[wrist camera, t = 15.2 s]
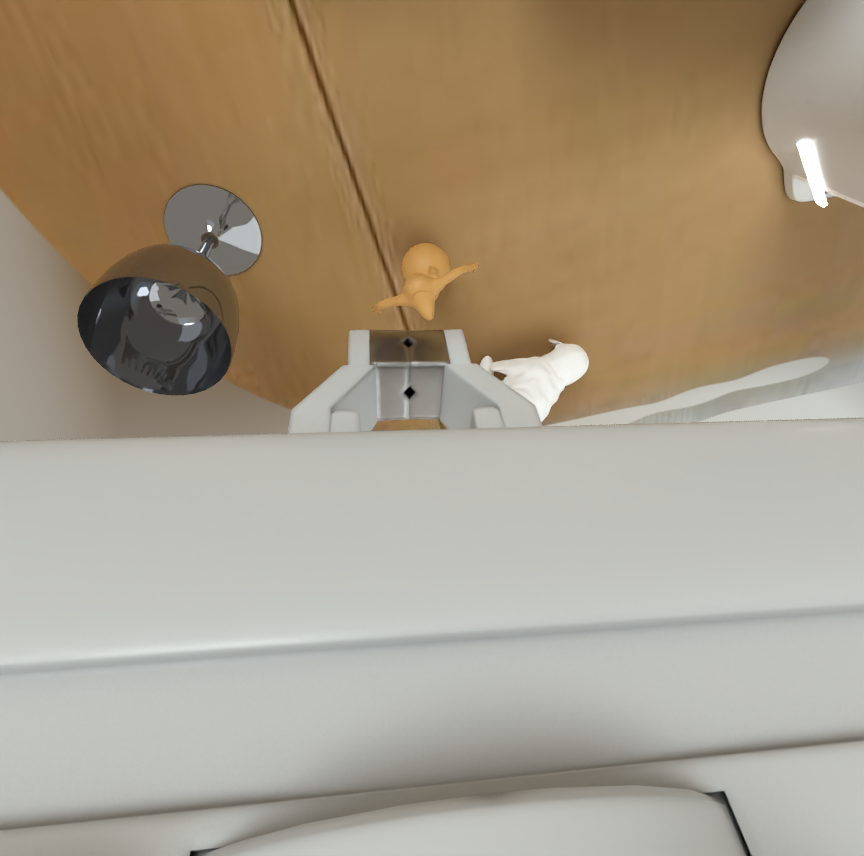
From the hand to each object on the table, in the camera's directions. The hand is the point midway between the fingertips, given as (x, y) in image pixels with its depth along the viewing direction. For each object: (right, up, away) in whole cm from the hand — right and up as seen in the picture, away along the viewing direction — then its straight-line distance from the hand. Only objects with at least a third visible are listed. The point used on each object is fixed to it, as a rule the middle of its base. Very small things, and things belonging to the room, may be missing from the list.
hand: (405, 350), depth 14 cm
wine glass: (-16, +13, +26) cm, 33 cm away
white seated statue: (+10, +5, +38) cm, 39 cm away
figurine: (0, +13, +28) cm, 31 cm away
